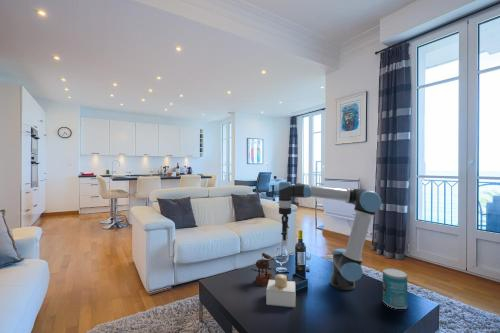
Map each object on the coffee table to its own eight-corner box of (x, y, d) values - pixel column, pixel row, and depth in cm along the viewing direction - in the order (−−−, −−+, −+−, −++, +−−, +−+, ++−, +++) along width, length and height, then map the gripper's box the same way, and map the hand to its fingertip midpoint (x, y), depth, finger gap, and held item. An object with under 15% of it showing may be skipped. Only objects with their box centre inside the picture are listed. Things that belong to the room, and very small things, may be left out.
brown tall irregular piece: (274, 279, 176) (274, 251, 174) (272, 288, 165) (272, 258, 163) (253, 277, 179) (252, 249, 177) (249, 285, 168) (249, 256, 166)
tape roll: (287, 282, 151) (287, 274, 151) (286, 288, 144) (286, 279, 144) (275, 282, 152) (275, 273, 152) (274, 287, 145) (274, 278, 145)
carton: (295, 296, 153) (295, 283, 153) (295, 307, 141) (295, 293, 141) (268, 294, 156) (268, 281, 156) (266, 304, 144) (266, 290, 144)
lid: (295, 282, 153) (295, 281, 153) (294, 292, 141) (294, 291, 141) (269, 280, 156) (269, 279, 156) (266, 290, 144) (266, 289, 144)
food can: (378, 302, 146) (378, 270, 146) (391, 296, 151) (391, 266, 151) (398, 312, 135) (398, 278, 135) (412, 306, 141) (412, 274, 141)
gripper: (280, 203, 168) (280, 236, 169) (277, 210, 144) (277, 248, 144) (291, 204, 167) (291, 236, 167) (290, 211, 143) (290, 248, 143)
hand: (285, 242), depth 156 cm, fingers open, 13 cm apart
